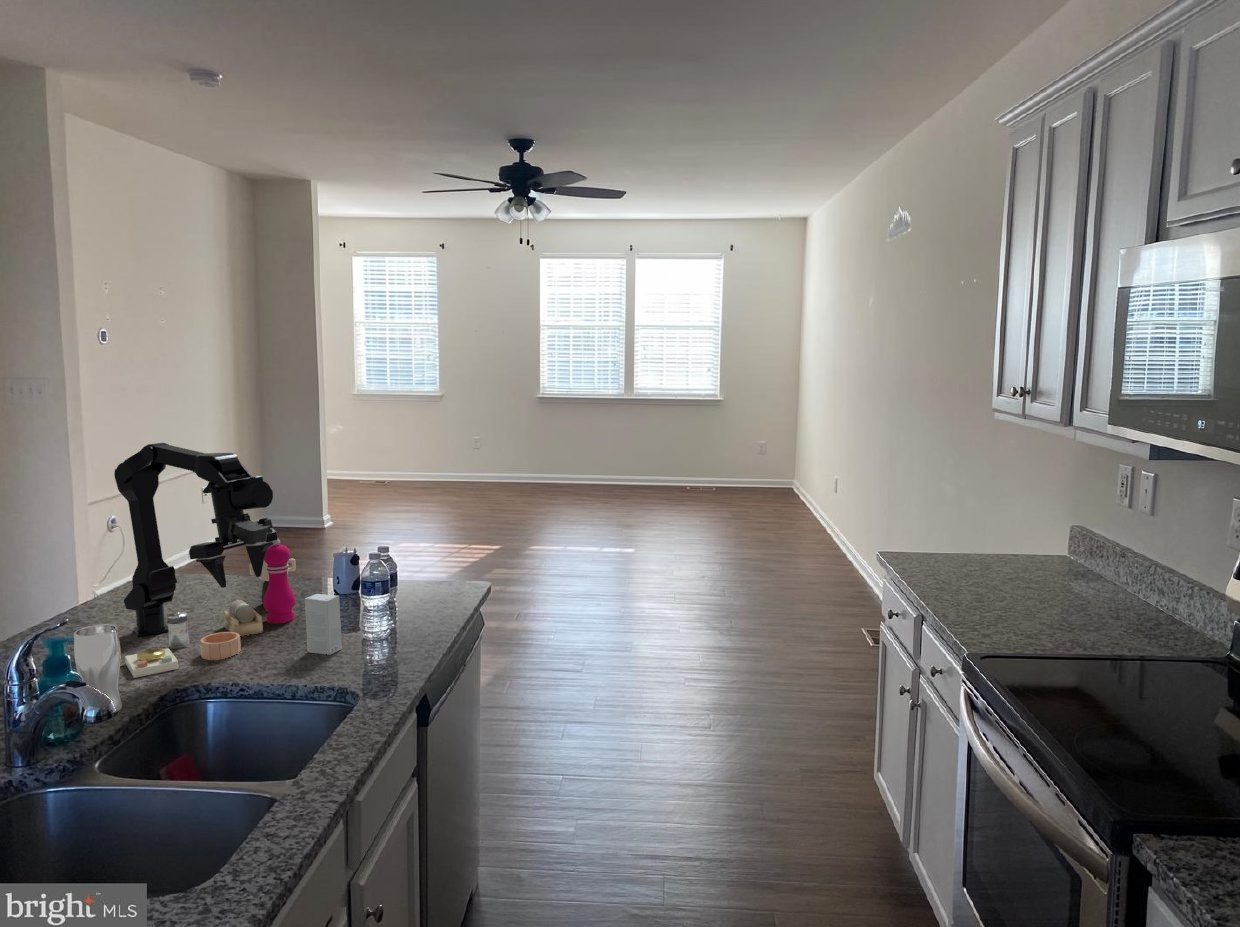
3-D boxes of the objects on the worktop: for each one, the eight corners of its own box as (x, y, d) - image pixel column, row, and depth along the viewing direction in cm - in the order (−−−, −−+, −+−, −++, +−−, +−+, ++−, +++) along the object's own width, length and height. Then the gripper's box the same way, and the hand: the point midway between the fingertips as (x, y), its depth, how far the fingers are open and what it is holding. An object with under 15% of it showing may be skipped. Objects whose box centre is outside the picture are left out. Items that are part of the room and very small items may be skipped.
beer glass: (92, 722, 147) (85, 639, 145) (72, 713, 151) (64, 632, 149) (132, 707, 153) (126, 627, 151) (112, 699, 157) (105, 621, 155)
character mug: (296, 597, 223) (293, 548, 221) (298, 604, 217) (296, 554, 215) (251, 602, 218) (248, 553, 216) (252, 609, 212) (249, 559, 210)
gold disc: (135, 656, 174) (135, 652, 174) (162, 650, 177) (162, 647, 177) (139, 663, 170) (139, 659, 170) (167, 657, 173) (167, 653, 173)
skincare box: (342, 649, 184) (340, 595, 182) (329, 655, 180) (327, 601, 178) (319, 646, 186) (316, 593, 184) (306, 652, 182) (303, 598, 180)
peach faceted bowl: (198, 652, 182) (197, 636, 181) (235, 645, 186) (234, 629, 186) (206, 662, 176) (205, 646, 175) (244, 654, 180) (243, 638, 180)
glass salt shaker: (167, 645, 186) (165, 612, 185) (187, 641, 189) (184, 609, 188) (171, 650, 183) (168, 616, 182) (191, 646, 185) (188, 613, 184)
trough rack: (224, 626, 199) (222, 600, 198) (250, 621, 202) (249, 596, 202) (235, 637, 191) (233, 610, 190) (262, 632, 195) (261, 606, 194)
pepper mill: (285, 625, 200) (280, 542, 197) (257, 623, 201) (253, 541, 198) (302, 616, 207) (298, 536, 204) (276, 614, 208) (271, 534, 205)
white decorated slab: (125, 663, 175) (124, 652, 175) (168, 655, 180) (167, 644, 180) (133, 677, 167) (132, 666, 167) (178, 668, 172) (177, 657, 172)
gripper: (218, 517, 171) (231, 592, 172) (289, 501, 188) (301, 570, 189) (181, 520, 176) (194, 593, 177) (253, 505, 193) (265, 572, 194)
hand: (241, 582), depth 184 cm, fingers open, 9 cm apart
